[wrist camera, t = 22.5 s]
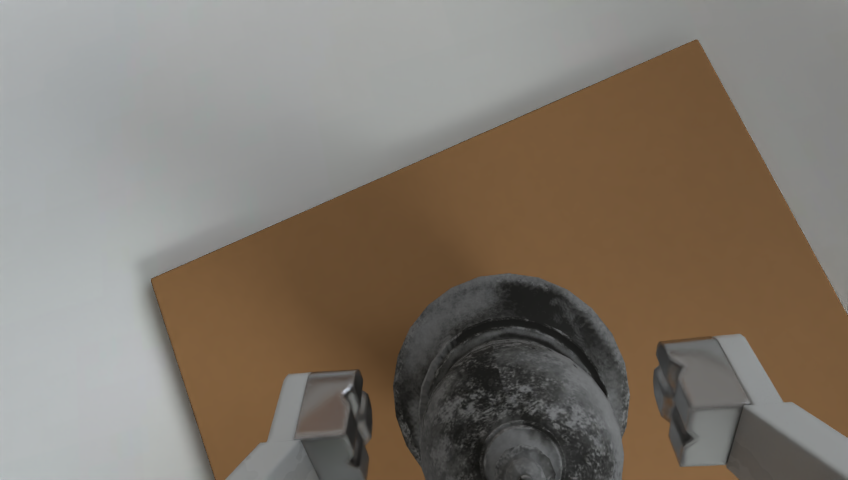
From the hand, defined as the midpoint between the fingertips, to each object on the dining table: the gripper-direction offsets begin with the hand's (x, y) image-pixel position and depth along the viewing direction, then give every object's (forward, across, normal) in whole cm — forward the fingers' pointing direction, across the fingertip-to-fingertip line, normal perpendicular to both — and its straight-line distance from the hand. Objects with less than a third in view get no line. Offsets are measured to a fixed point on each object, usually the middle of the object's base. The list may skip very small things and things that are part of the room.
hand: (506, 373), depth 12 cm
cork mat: (+4, 0, +5) cm, 7 cm away
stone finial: (+4, 0, +5) cm, 7 cm away
